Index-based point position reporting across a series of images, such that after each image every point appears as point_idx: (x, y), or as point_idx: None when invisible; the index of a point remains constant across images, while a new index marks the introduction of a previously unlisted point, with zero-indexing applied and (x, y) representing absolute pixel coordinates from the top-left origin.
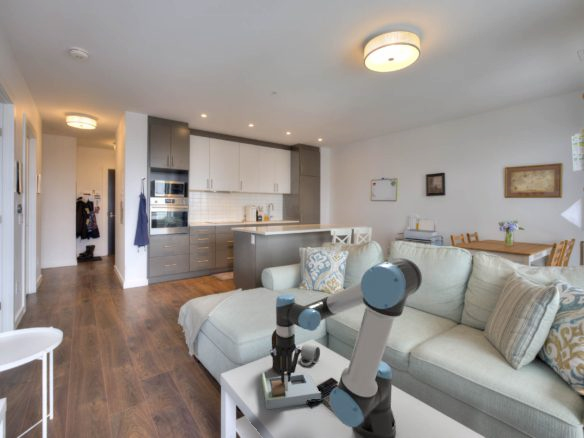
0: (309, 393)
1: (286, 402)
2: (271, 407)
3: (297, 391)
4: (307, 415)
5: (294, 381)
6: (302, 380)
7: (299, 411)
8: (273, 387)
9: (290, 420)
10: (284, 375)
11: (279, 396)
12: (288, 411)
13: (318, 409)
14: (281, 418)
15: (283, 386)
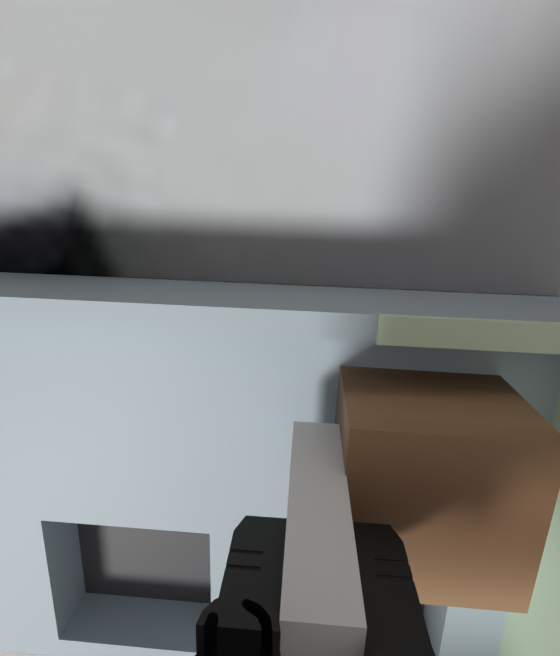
0: (18, 311)
1: (339, 296)
2: (514, 298)
3: (170, 418)
4: (140, 93)
5: (171, 590)
6: (93, 583)
7: (214, 179)
8: (545, 479)
9: (350, 60)
10: (362, 647)
11: (418, 376)
12: (334, 210)
13: (3, 158)
14: (443, 119)
15: (371, 459)
